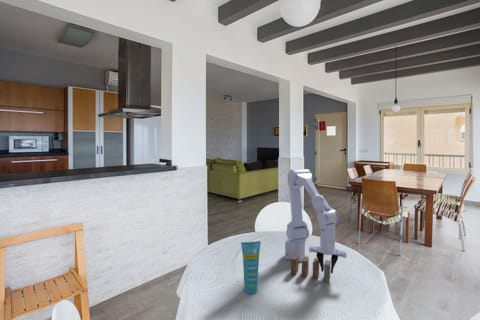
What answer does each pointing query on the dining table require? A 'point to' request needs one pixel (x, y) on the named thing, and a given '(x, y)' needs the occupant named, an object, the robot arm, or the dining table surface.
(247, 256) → the tube
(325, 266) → the domino
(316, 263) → the domino
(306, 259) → the domino
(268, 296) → the dining table surface
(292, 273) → the domino
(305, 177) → the robot arm
